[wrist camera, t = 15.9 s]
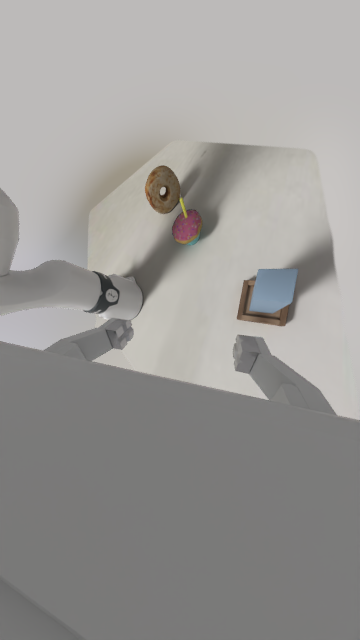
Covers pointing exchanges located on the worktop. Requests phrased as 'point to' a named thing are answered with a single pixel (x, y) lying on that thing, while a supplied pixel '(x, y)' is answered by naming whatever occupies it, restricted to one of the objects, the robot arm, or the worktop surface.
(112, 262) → the worktop surface
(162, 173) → the bagel
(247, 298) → the walnut base
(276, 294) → the slate block
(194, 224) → the cupcake
